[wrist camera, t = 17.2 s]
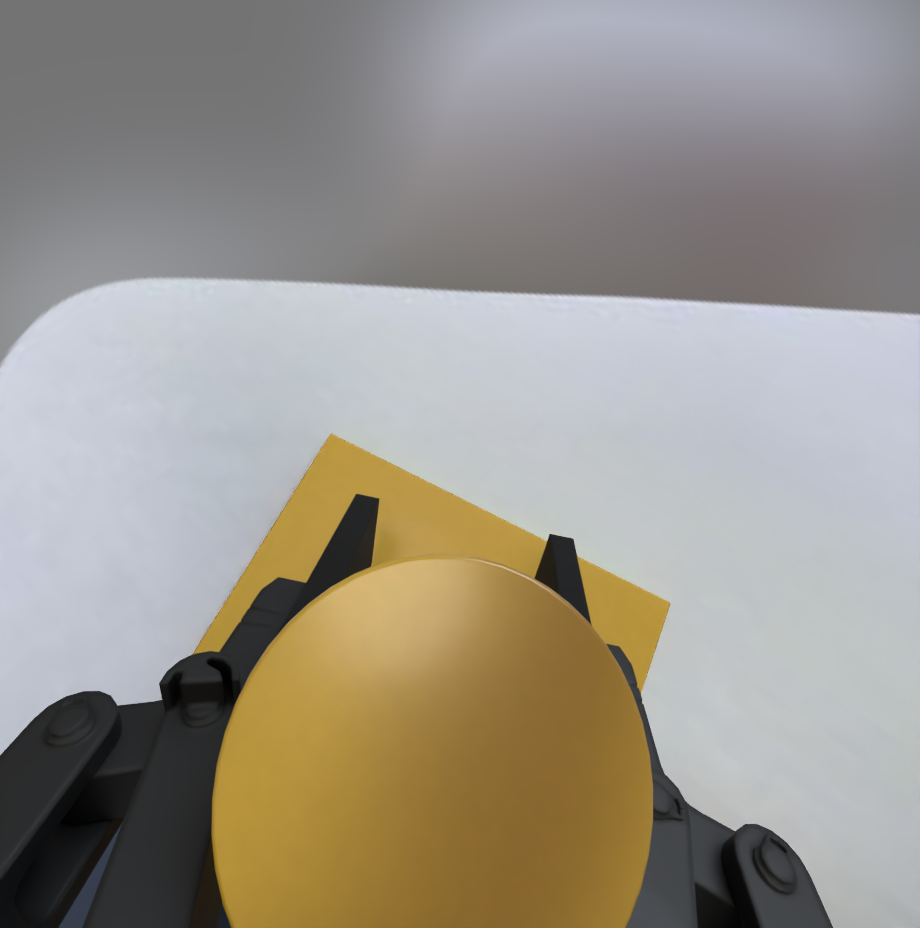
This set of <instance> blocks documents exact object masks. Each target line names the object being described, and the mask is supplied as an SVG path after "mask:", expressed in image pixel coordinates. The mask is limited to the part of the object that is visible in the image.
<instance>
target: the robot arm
mask: <svg viewBox="0 0 920 928" xmlns="http://www.w3.org/2000/svg"><path fill="white" fill-rule="evenodd" d="M379 499H380V498H375V497H370V496H365V495H361V494H356V495H355V497H354V498H353V500H352V502H351V504H350V505H349V507H348V509H347V511H346V513H345V514H344V516H343V518H342V520H341V521H340V523H339V525H338V527H337V529H336V530H335V532H334V534H333V536H332V537H331V539H330V541H329V543H328V545H327V546H326V548H325V550H324V552H323V554H322V555H321V557H320V559H319V561H318V562H317V564H316V566H315V568H314V570H313V571H312V573H311V575H310V577H309V578H308V580H307V582H306V583H305V582H300V581H295V580H290V579H286V578H281V577H278V578H276V579H275V580H274V581H272V582H271V583H269V584H268V585H267V586H265V587H264V588H262V589H261V591H260V592H259V593H258V595H257V596H256V598H255V599H254V601H253V602H252V604H251V605H250V608H249V609H248V610H247V611H246V613H245V614H244V616H243V617H242V619H241V622H239V623H238V625H237V626H236V628H235V629H234V631H233V632H232V633H231V635H230V636H229V638H228V639H227V641H226V642H225V644H224V645H223V647H222V648H221V650H220V651H219V652H214V651H207V652H202V653H196V654H193V655H191V656H189V657H187V658H185V659H182V660H180V661H179V662H178V663H177V664H175V665H174V666H173V667H172V668H171V669H169V670H168V671H167V673H166V674H165V676H164V677H163V679H162V680H161V682H160V683H159V685H160V690H161V694H162V699H163V700H160V701H155V702H147V703H138V704H129V705H120V706H117V704H116V703H115V701H114V700H113V698H112V697H111V696H110V695H108V694H105V693H103V692H100V691H84V692H80V693H77V694H73V695H70V696H66V697H64V698H63V699H61V700H59V701H57V702H55V703H53V704H52V705H50V706H48V707H47V708H46V709H45V710H44V711H42V712H41V713H40V714H39V715H38V716H37V717H35V718H34V719H33V720H32V721H31V722H30V724H29V725H28V726H27V727H26V728H25V729H24V730H23V731H22V732H21V733H20V735H19V736H18V737H17V738H16V739H15V740H14V741H13V742H12V743H11V744H10V745H9V747H8V748H7V749H6V750H5V751H4V752H3V753H2V754H1V755H0V928H59V926H60V924H61V923H62V921H63V919H64V918H65V916H66V914H67V913H68V911H69V910H70V908H71V906H72V905H73V903H74V901H75V900H76V898H77V896H78V895H79V893H80V891H81V890H82V888H83V886H84V885H85V883H86V881H87V880H88V878H89V877H90V875H91V873H92V872H93V870H94V868H95V867H96V865H97V863H98V862H99V860H100V858H101V857H102V855H103V853H104V852H105V850H106V848H107V847H108V845H109V844H110V842H111V840H112V839H113V837H114V835H115V834H116V832H117V830H118V829H119V827H120V825H121V824H122V825H121V828H120V830H119V833H118V836H117V838H116V841H115V843H114V846H113V849H112V851H111V854H110V856H109V859H108V862H107V864H106V867H105V870H104V872H103V875H102V877H101V880H100V883H99V885H98V888H97V890H96V893H95V896H94V898H93V901H92V904H91V906H90V909H89V911H88V914H87V917H86V919H85V922H84V925H83V927H82V928H217V925H218V920H219V915H220V910H221V905H222V899H221V894H220V890H219V886H218V881H217V877H216V873H215V865H214V856H213V846H212V836H211V830H212V795H213V788H214V780H215V773H216V765H217V761H218V757H219V753H220V749H221V745H222V741H223V737H224V733H225V730H226V727H227V724H228V722H229V719H230V716H231V714H232V711H233V708H234V706H235V703H236V700H237V698H238V696H239V694H240V692H241V690H242V688H243V687H244V685H245V683H246V681H247V679H248V677H249V675H250V673H251V671H252V670H253V668H254V667H255V665H256V664H257V662H258V660H259V659H260V657H261V656H262V654H263V653H264V651H265V650H266V648H267V647H268V646H269V644H270V643H271V642H272V641H273V640H274V638H275V637H276V636H277V635H278V634H279V632H280V631H281V630H282V629H283V628H284V626H285V625H286V624H287V623H288V622H289V621H290V620H291V619H292V618H293V617H294V616H295V615H297V614H298V613H299V612H300V611H301V610H302V609H303V608H304V607H305V606H306V605H307V604H308V603H310V602H311V601H312V600H314V599H315V598H316V597H318V596H319V595H320V594H322V593H323V592H325V591H326V590H327V589H329V588H330V587H331V586H333V585H335V584H337V583H339V582H340V581H342V580H344V579H346V578H347V577H349V576H351V575H353V574H355V573H357V572H360V571H362V570H364V569H367V568H369V567H371V564H372V557H373V549H374V541H375V533H376V524H377V516H378V508H379ZM534 579H536V580H538V581H539V582H541V583H543V584H545V585H546V586H548V587H549V588H551V589H552V590H553V591H555V592H556V593H557V594H559V595H560V596H561V597H562V598H564V599H565V600H566V601H568V602H569V603H570V604H571V605H572V606H573V607H574V608H575V609H576V610H577V611H578V612H579V613H580V614H581V615H582V616H583V617H584V618H585V619H586V620H587V621H588V622H589V623H590V624H591V620H590V615H589V610H588V606H587V601H586V596H585V591H584V587H583V582H582V577H581V573H580V568H579V563H578V559H577V554H576V549H575V545H574V540H573V539H572V538H567V537H562V536H557V535H552V534H550V535H549V538H548V541H547V544H546V547H545V549H544V552H543V555H542V558H541V561H540V564H539V566H538V569H537V572H536V575H535V578H534ZM591 626H592V624H591ZM606 645H607V646H608V648H609V650H610V651H611V653H612V655H613V656H614V658H615V659H616V661H617V663H618V664H619V666H620V668H621V670H622V672H623V674H624V676H625V678H626V680H627V682H628V685H629V687H630V689H631V691H632V693H633V696H634V699H635V701H636V704H637V707H638V710H639V713H640V716H641V719H642V722H643V726H644V731H645V736H646V740H647V745H648V749H649V754H650V762H651V772H652V781H653V825H652V833H651V842H650V851H649V857H648V861H647V865H646V870H645V874H644V878H643V882H642V887H641V890H640V893H639V895H638V898H637V901H636V904H635V906H634V909H633V912H632V915H631V918H630V920H629V922H628V924H627V926H626V928H833V927H832V924H831V922H830V920H829V918H828V915H827V913H826V911H825V909H824V906H823V904H822V902H821V899H820V897H819V895H818V893H817V890H816V888H815V886H814V883H813V881H812V879H811V877H810V875H809V873H808V871H807V870H806V868H805V866H804V864H803V863H802V861H801V859H800V858H799V856H798V855H797V854H796V853H795V852H794V851H793V850H792V848H791V847H790V846H789V845H788V844H787V843H786V842H785V841H784V840H783V839H781V838H780V837H779V836H778V835H776V834H775V833H774V832H773V831H771V830H769V829H767V828H764V827H762V826H760V825H757V824H745V825H743V826H742V827H741V828H739V829H738V830H737V831H736V832H735V831H733V830H731V829H730V828H728V827H726V826H724V825H722V824H721V823H719V822H717V821H715V820H713V819H712V818H710V817H708V816H706V815H704V814H702V813H701V812H699V811H698V810H696V809H695V808H693V807H692V806H690V805H689V804H688V803H687V802H686V801H685V800H684V798H683V796H682V795H681V793H680V791H679V789H678V788H677V787H676V786H675V785H674V783H673V782H672V781H671V780H670V779H669V778H668V777H667V776H666V775H665V774H664V772H663V769H662V767H661V764H660V761H659V757H658V754H657V750H656V747H655V743H654V740H653V736H652V733H651V729H650V726H649V722H648V719H647V715H646V712H645V708H644V705H643V704H642V698H641V694H640V691H639V688H637V680H636V677H635V673H634V670H633V666H632V664H631V663H630V661H629V660H628V658H627V657H626V655H625V654H624V652H623V651H622V649H621V648H620V646H615V645H610V644H606Z"/></svg>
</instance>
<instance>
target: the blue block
mask: <svg viewBox="0 0 920 928" xmlns="http://www.w3.org/2000/svg"><path fill="white" fill-rule="evenodd" d="M217 928H231V926H230V923H229V920H228V917H227V915H226V912H223V911H220V915H219V920H218V925H217Z"/></svg>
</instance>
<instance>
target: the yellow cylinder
mask: <svg viewBox="0 0 920 928" xmlns="http://www.w3.org/2000/svg"><path fill="white" fill-rule="evenodd" d="M652 825H653V781H652V772H651V762H650V754H649V749H648V745H647V740H646V736H645V731H644V726H643V722H642V719H641V716H640V713H639V710H638V707H637V704H636V701H635V699H634V696H633V693H632V691H631V689H630V687H629V685H628V682H627V680H626V678H625V676H624V674H623V672H622V670H621V668H620V666H619V664H618V663H617V661H616V659H615V658H614V656H613V655H612V653H611V651H610V650H609V648H608V646H607V645H606V643H605V642H604V641H603V640H602V638H601V637H600V636H599V634H598V633H597V632H596V631H595V629H594V628H593V627H592V626H591V624H590V623H589V622H588V621H587V620H586V619H585V618H584V617H583V616H582V615H581V614H580V613H579V612H578V611H577V610H576V609H575V608H574V607H573V606H572V605H571V604H570V603H569V602H568V601H566V600H565V599H564V598H562V597H561V596H560V595H559V594H557V593H556V592H555V591H553V590H552V589H551V588H549V587H548V586H546V585H545V584H543V583H541V582H539V581H538V580H536V579H534V578H533V577H531V576H529V575H528V574H526V573H523V572H521V571H518V570H516V569H514V568H511V567H509V566H507V565H504V564H501V563H498V562H494V561H491V560H487V559H483V558H480V557H473V556H466V555H459V554H423V555H416V556H408V557H402V558H398V559H394V560H391V561H387V562H383V563H379V564H377V565H374V566H372V567H369V568H367V569H364V570H362V571H360V572H357V573H355V574H353V575H351V576H349V577H347V578H346V579H344V580H342V581H340V582H339V583H337V584H335V585H333V586H331V587H330V588H329V589H327V590H326V591H325V592H323V593H322V594H320V595H319V596H318V597H316V598H315V599H314V600H312V601H311V602H310V603H308V604H307V605H306V606H305V607H304V608H303V609H302V610H301V611H300V612H299V613H298V614H297V615H295V616H294V617H293V618H292V619H291V620H290V621H289V622H288V623H287V624H286V625H285V626H284V628H283V629H282V630H281V631H280V632H279V634H278V635H277V636H276V637H275V638H274V640H273V641H272V642H271V643H270V644H269V646H268V647H267V648H266V650H265V651H264V653H263V654H262V656H261V657H260V659H259V660H258V662H257V664H256V665H255V667H254V668H253V670H252V671H251V673H250V675H249V677H248V679H247V681H246V683H245V685H244V687H243V688H242V690H241V692H240V694H239V696H238V698H237V700H236V703H235V706H234V708H233V711H232V714H231V716H230V719H229V722H228V724H227V727H226V730H225V733H224V737H223V741H222V745H221V749H220V753H219V757H218V761H217V765H216V773H215V780H214V788H213V795H212V830H211V836H212V846H213V856H214V865H215V873H216V877H217V881H218V886H219V890H220V894H221V899H222V903H223V907H224V909H225V912H226V915H227V917H228V920H229V923H230V926H231V928H626V926H627V924H628V922H629V920H630V918H631V915H632V912H633V909H634V906H635V904H636V901H637V898H638V895H639V893H640V890H641V887H642V882H643V878H644V874H645V870H646V865H647V861H648V857H649V851H650V842H651V833H652Z"/></svg>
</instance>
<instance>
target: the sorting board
mask: <svg viewBox="0 0 920 928" xmlns="http://www.w3.org/2000/svg"><path fill="white" fill-rule="evenodd" d="M356 494H361V495H365V496H370V497H375V498H380V499H379V508H378V516H377V524H376V533H375V541H374V549H373V557H372V564H371V567H372V566H374V565H377V564H379V563H383V562H387V561H391V560H394V559H398V558H402V557H408V556H416V555H423V554H459V555H466V556H473V557H480V558H483V559H487V560H491V561H494V562H498V563H501V564H504V565H507V566H509V567H511V568H514V569H516V570H518V571H521V572H523V573H526V574H528V575H529V576H531V577H533V578H535V575H536V572H537V569H538V566H539V564H540V561H541V558H542V555H543V552H544V549H545V547H546V544H547V541H545V540H543V539H541V538H539V537H537V536H535V535H533V534H531V533H529V532H527V531H525V530H523V529H521V528H519V527H517V526H515V525H513V524H511V523H509V522H507V521H505V520H503V519H501V518H499V517H497V516H495V515H493V514H491V513H489V512H487V511H485V510H483V509H481V508H479V507H477V506H475V505H473V504H471V503H469V502H467V501H465V500H463V499H461V498H459V497H457V496H455V495H453V494H451V493H449V492H447V491H445V490H443V489H441V488H439V487H437V486H435V485H433V484H431V483H429V482H427V481H425V480H423V479H421V478H419V477H417V476H415V475H413V474H411V473H409V472H407V471H405V470H403V469H401V468H399V467H397V466H395V465H393V464H391V463H389V462H387V461H385V460H383V459H381V458H379V457H377V456H375V455H373V454H371V453H369V452H367V451H365V450H363V449H361V448H359V447H357V446H355V445H353V444H351V443H349V442H347V441H345V440H343V439H341V438H339V437H337V436H335V435H333V434H330V436H329V437H328V439H327V440H326V442H325V444H324V445H323V447H322V448H321V450H320V452H319V453H318V455H317V456H316V458H315V460H314V461H313V463H312V464H311V466H310V468H309V469H308V471H307V472H306V474H305V476H304V477H303V479H302V480H301V482H300V484H299V485H298V487H297V488H296V490H295V492H294V493H293V495H292V496H291V498H290V500H289V501H288V503H287V504H286V506H285V508H284V509H283V511H282V512H281V514H280V516H279V517H278V519H277V520H276V522H275V524H274V525H273V527H272V528H271V530H270V532H269V533H268V535H267V536H266V538H265V540H264V541H263V543H262V544H261V546H260V548H259V549H258V551H257V552H256V554H255V556H254V557H253V559H252V560H251V562H250V564H249V565H248V567H247V568H246V570H245V572H244V573H243V575H242V576H241V578H240V580H239V581H238V583H237V584H236V586H235V588H234V589H233V591H232V592H231V594H230V596H229V597H228V599H227V600H226V602H225V604H224V605H223V607H222V608H221V610H220V612H219V613H218V615H217V616H216V618H215V620H214V621H213V623H212V624H211V626H210V628H209V629H208V631H207V632H206V634H205V636H204V637H203V639H202V640H201V642H200V644H199V645H198V647H197V648H196V650H195V652H194V653H193V654H196V653H202V652H207V651H214V652H219V651H220V650H221V648H222V647H223V645H224V644H225V642H226V641H227V639H228V638H229V636H230V635H231V633H232V632H233V631H234V629H235V628H236V626H237V625H238V623H239V622H241V619H242V617H243V616H244V614H245V613H246V611H247V610H248V609H249V608H250V605H251V604H252V602H253V601H254V599H255V598H256V596H257V595H258V593H259V592H260V591H261V589H262V588H264V587H265V586H267V585H268V584H269V583H271V582H272V581H274V580H275V579H276V578H278V577H281V578H286V579H290V580H295V581H300V582H305V583H306V582H307V580H308V578H309V577H310V575H311V573H312V571H313V570H314V568H315V566H316V564H317V562H318V561H319V559H320V557H321V555H322V554H323V552H324V550H325V548H326V546H327V545H328V543H329V541H330V539H331V537H332V536H333V534H334V532H335V530H336V529H337V527H338V525H339V523H340V521H341V520H342V518H343V516H344V514H345V513H346V511H347V509H348V507H349V505H350V504H351V502H352V500H353V498H354V497H355V495H356ZM577 559H578V563H579V568H580V573H581V577H582V582H583V587H584V591H585V596H586V601H587V606H588V610H589V615H590V620H591V624H592V627H593V628H594V629H595V631H596V632H597V633H598V634H599V636H600V637H601V638H602V640H603V641H604V642H605V643H606V644H610V645H615V646H620V648H621V649H622V651H623V652H624V654H625V655H626V657H627V658H628V660H629V661H630V663H631V664H632V666H633V670H634V673H635V677H636V680H637V688H639V691H640V694H641V691H642V688H643V685H644V682H645V679H646V676H647V673H648V670H649V667H650V664H651V661H652V658H653V655H654V652H655V649H656V646H657V643H658V640H659V637H660V634H661V631H662V628H663V625H664V622H665V619H666V616H667V613H668V609H669V606H670V602H668V601H666V600H664V599H662V598H660V597H658V596H656V595H654V594H652V593H650V592H648V591H646V590H644V589H642V588H640V587H638V586H636V585H634V584H632V583H630V582H628V581H626V580H624V579H622V578H620V577H618V576H616V575H614V574H612V573H610V572H608V571H606V570H604V569H602V568H600V567H598V566H596V565H594V564H592V563H590V562H588V561H586V560H584V559H582V558H580V557H578V556H577ZM121 825H122V824H121ZM121 825H120V827H119V829H118V830H117V832H116V834H115V835H114V837H113V839H112V840H111V842H110V844H109V845H108V847H107V848H106V850H105V852H104V853H103V855H102V857H101V858H100V860H99V862H98V863H97V865H96V867H95V868H94V870H93V872H92V873H91V875H90V877H89V878H88V880H87V881H86V883H85V885H84V886H83V888H82V890H81V891H80V893H79V895H78V896H77V898H76V900H75V901H74V903H73V905H72V906H71V908H70V910H69V911H68V913H67V914H66V916H65V918H64V919H63V921H62V923H61V924H60V926H59V928H82V927H83V925H84V922H85V919H86V917H87V914H88V911H89V909H90V906H91V904H92V901H93V898H94V896H95V893H96V890H97V888H98V885H99V883H100V880H101V877H102V875H103V872H104V870H105V867H106V864H107V862H108V859H109V856H110V854H111V851H112V849H113V846H114V843H115V841H116V838H117V836H118V833H119V830H120V828H121ZM220 911H223V912H225V909H224V907H223V903H222V905H221V910H220Z"/></svg>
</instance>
